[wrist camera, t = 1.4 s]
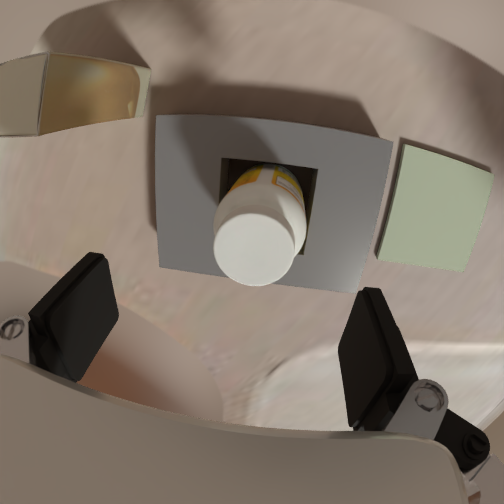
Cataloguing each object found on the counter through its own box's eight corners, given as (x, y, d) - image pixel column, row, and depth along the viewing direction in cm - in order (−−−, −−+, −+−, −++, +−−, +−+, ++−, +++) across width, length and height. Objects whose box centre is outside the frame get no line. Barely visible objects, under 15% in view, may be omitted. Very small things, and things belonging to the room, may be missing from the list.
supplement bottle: (306, 166, 21) (319, 206, 13) (297, 231, 24) (301, 303, 15) (235, 158, 21) (199, 193, 13) (231, 223, 24) (200, 290, 15)
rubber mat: (491, 173, 18) (494, 174, 18) (461, 269, 23) (463, 272, 23) (403, 143, 19) (405, 144, 19) (376, 257, 24) (377, 259, 23)
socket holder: (380, 137, 19) (393, 142, 16) (349, 273, 25) (355, 293, 22) (172, 114, 20) (156, 115, 17) (171, 250, 26) (159, 267, 23)
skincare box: (86, 114, 20) (-23, 138, 10) (93, 68, 18) (-18, 68, 8) (146, 118, 20) (36, 140, 10) (156, 67, 18) (47, 49, 8)
